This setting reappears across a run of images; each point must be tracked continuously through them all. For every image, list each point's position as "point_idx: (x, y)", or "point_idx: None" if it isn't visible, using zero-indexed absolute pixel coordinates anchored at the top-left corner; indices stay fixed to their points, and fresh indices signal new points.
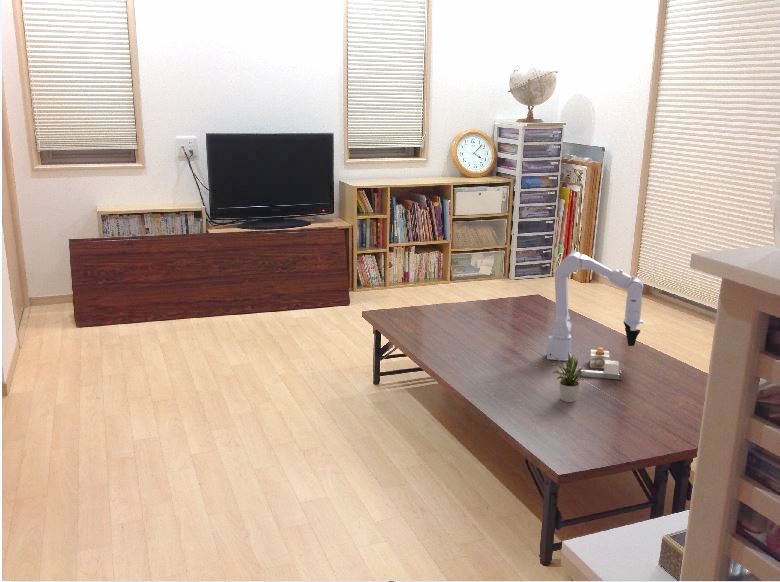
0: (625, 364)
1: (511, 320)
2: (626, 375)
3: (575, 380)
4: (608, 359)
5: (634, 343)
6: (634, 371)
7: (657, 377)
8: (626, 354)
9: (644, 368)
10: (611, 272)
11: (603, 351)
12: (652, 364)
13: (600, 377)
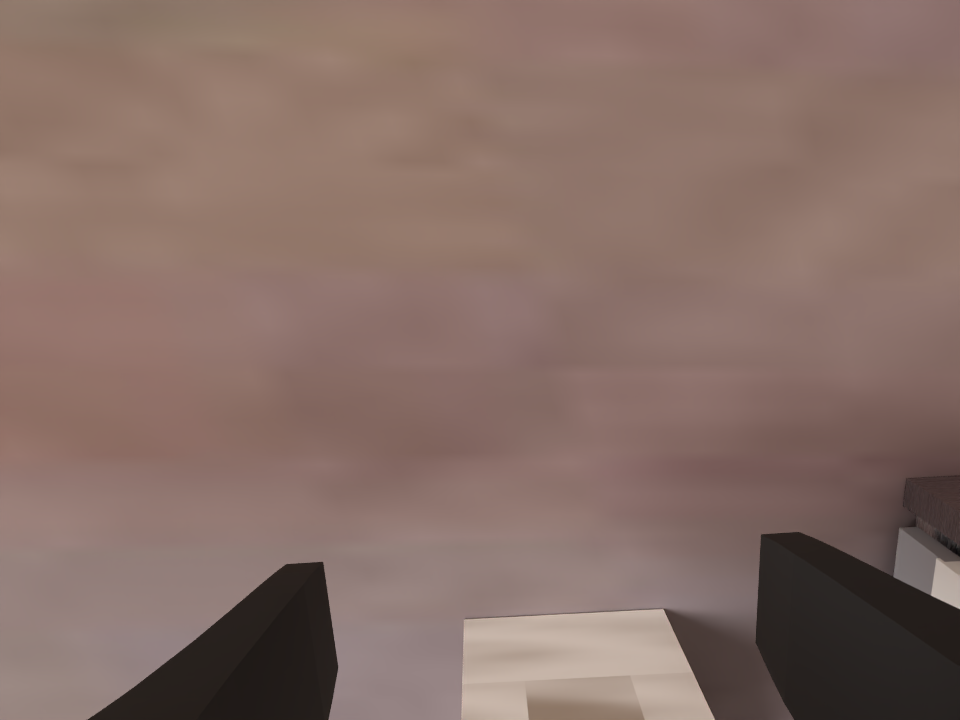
0: (462, 438)
1: None
2: (833, 425)
3: None
4: (704, 703)
5: (854, 563)
6: (680, 336)
7: (842, 46)
8: (87, 429)
9: (540, 212)
10: None
11: None
12: (348, 98)
13: None
